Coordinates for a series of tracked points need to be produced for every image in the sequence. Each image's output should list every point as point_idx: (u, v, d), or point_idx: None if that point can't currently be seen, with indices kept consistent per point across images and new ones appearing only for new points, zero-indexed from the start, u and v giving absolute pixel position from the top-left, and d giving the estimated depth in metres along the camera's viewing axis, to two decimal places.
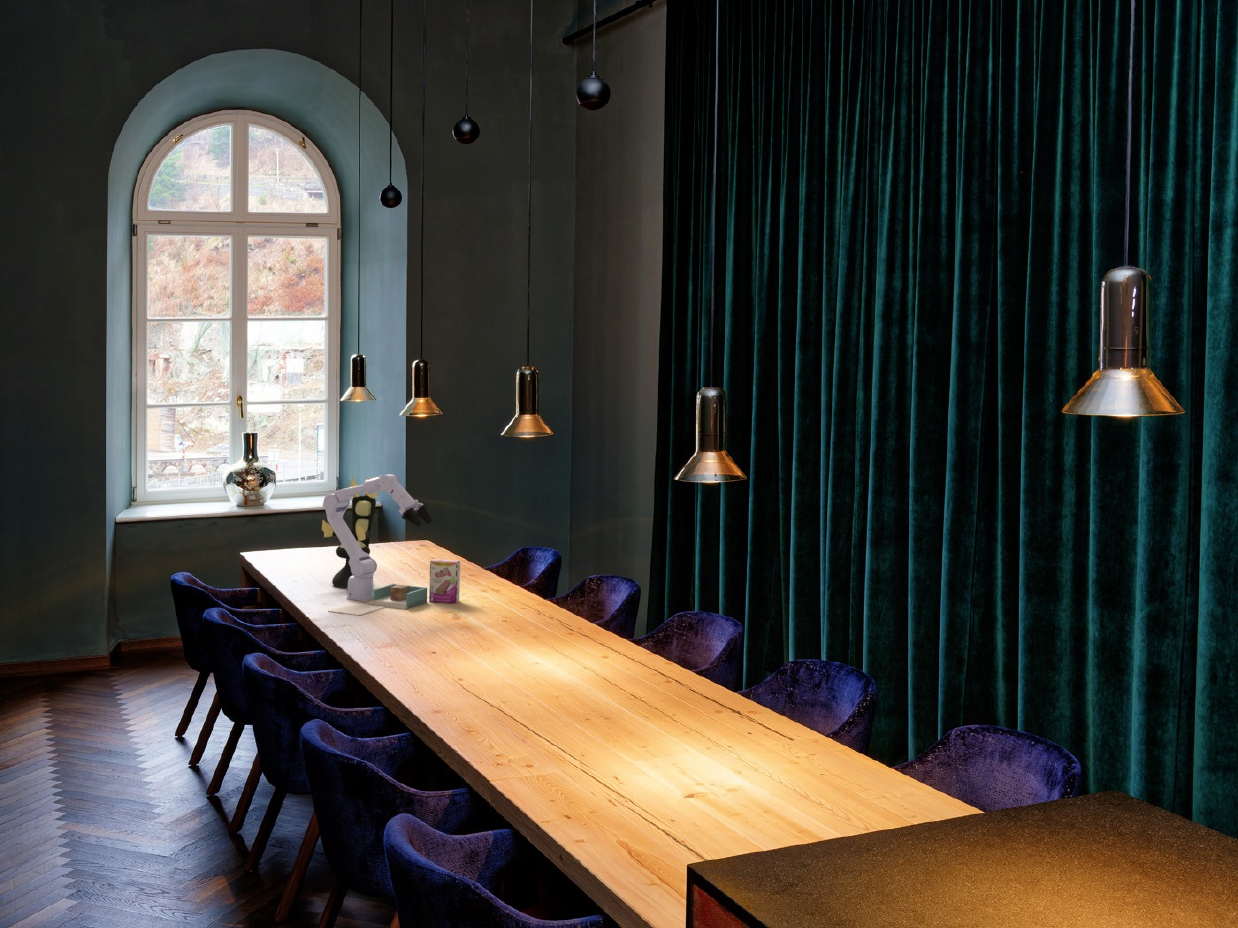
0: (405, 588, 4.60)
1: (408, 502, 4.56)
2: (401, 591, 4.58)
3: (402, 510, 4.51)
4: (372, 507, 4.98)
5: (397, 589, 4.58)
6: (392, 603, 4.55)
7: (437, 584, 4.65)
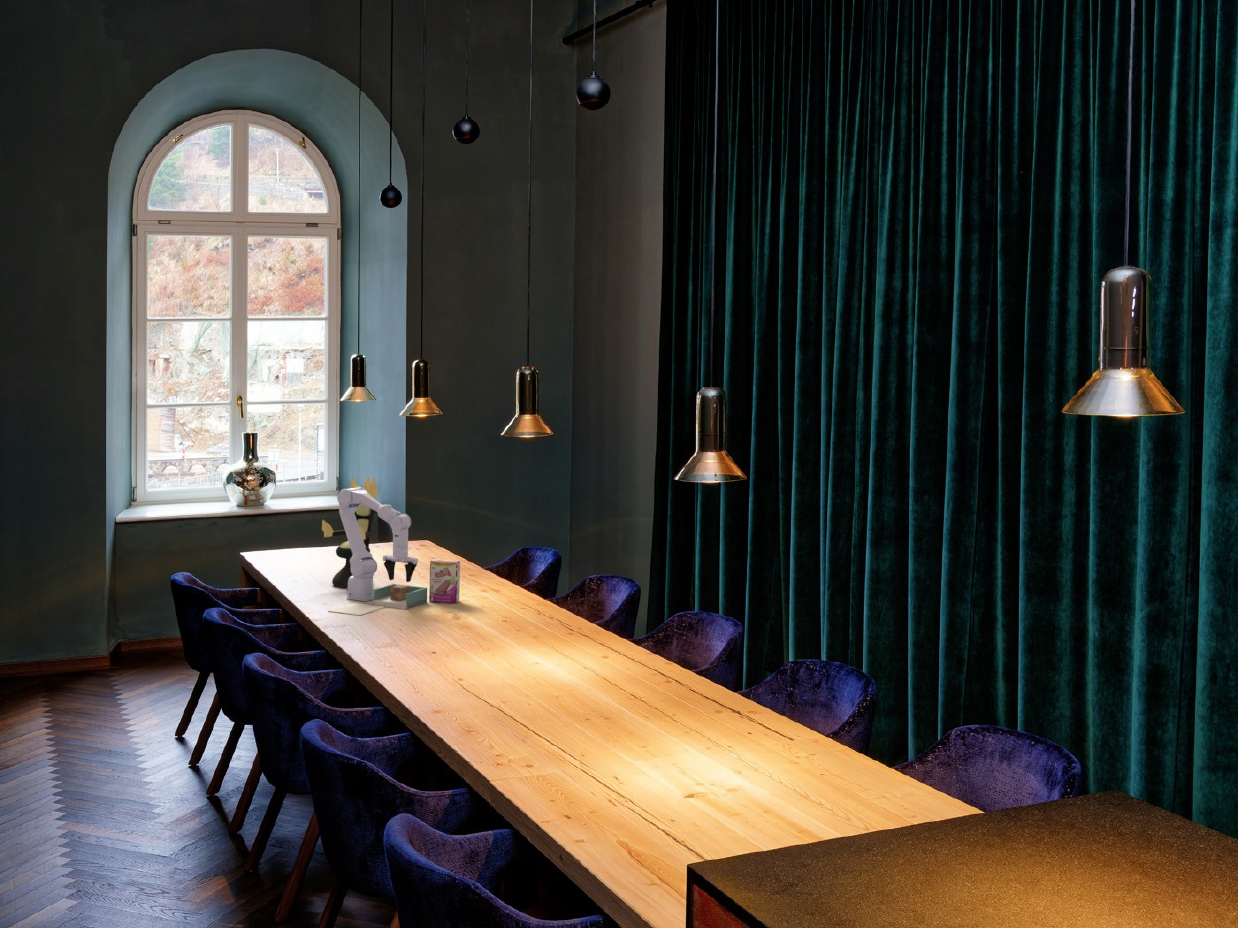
0: (405, 588, 4.60)
1: None
2: (401, 591, 4.58)
3: None
4: None
5: (397, 589, 4.58)
6: (392, 603, 4.55)
7: (437, 584, 4.65)
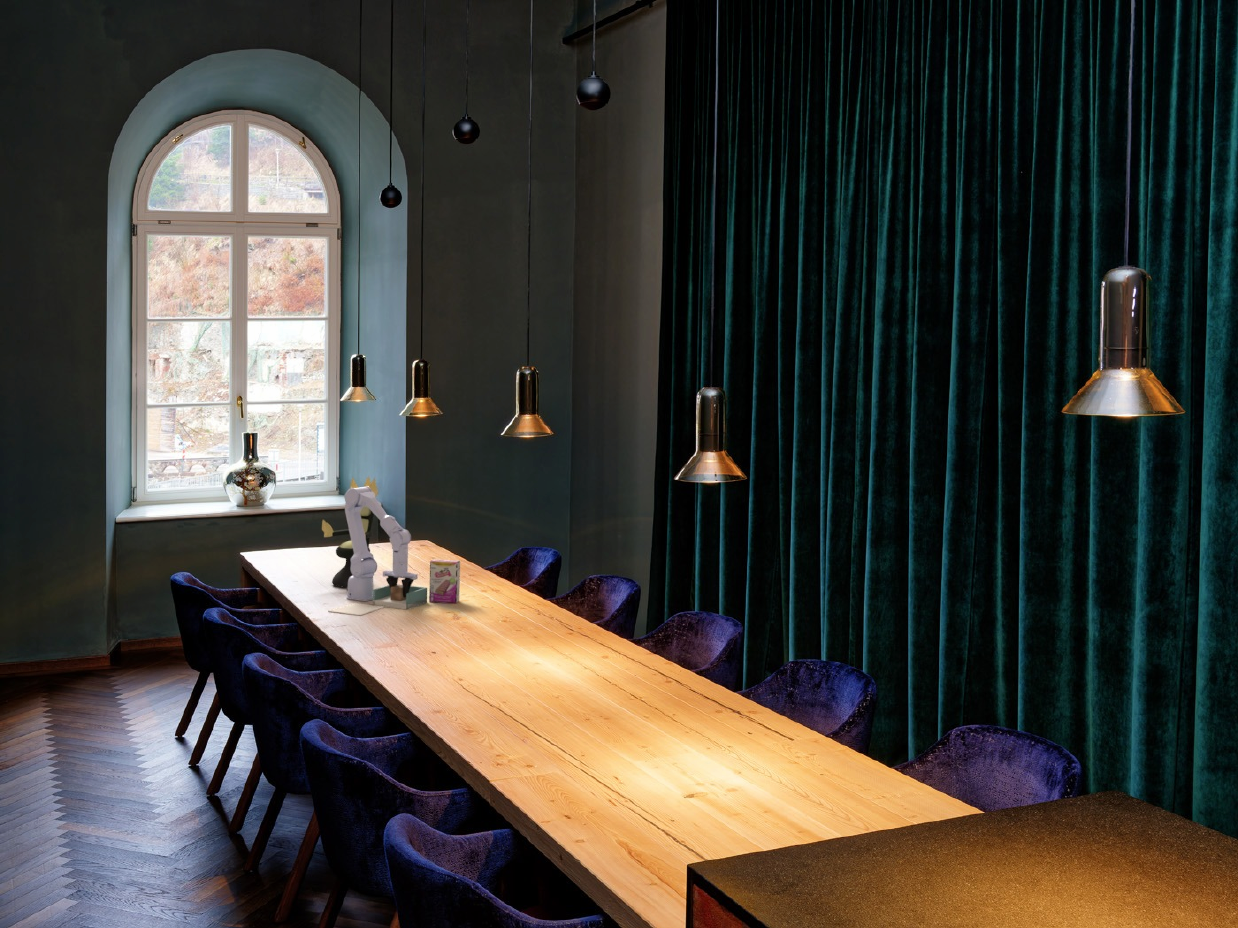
0: None
1: (392, 571, 4.59)
2: (401, 591, 4.58)
3: None
4: None
5: (397, 589, 4.58)
6: (392, 603, 4.55)
7: (437, 584, 4.65)
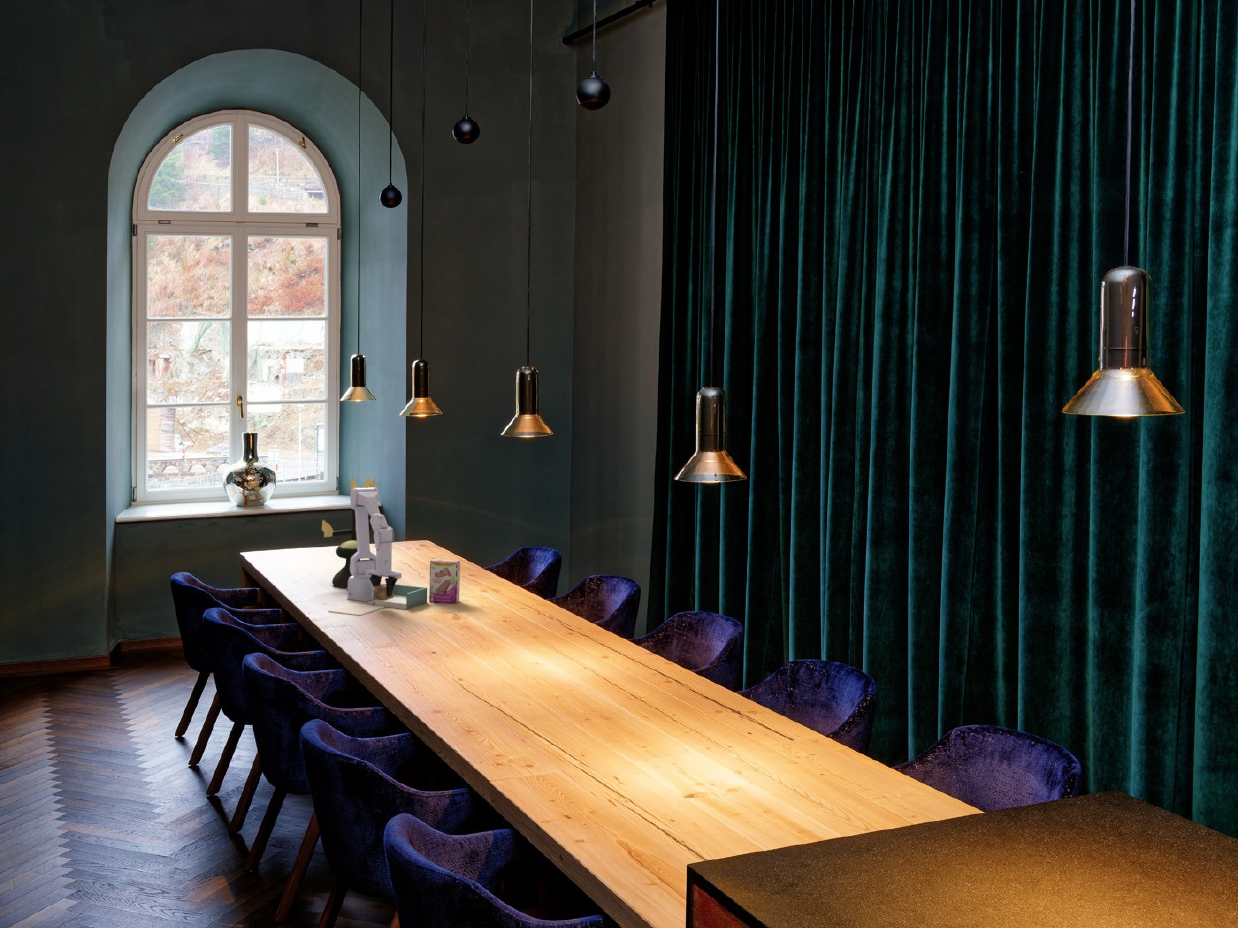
0: None
1: (376, 569, 4.49)
2: (385, 590, 4.47)
3: None
4: None
5: (381, 588, 4.47)
6: (392, 603, 4.55)
7: (437, 584, 4.65)
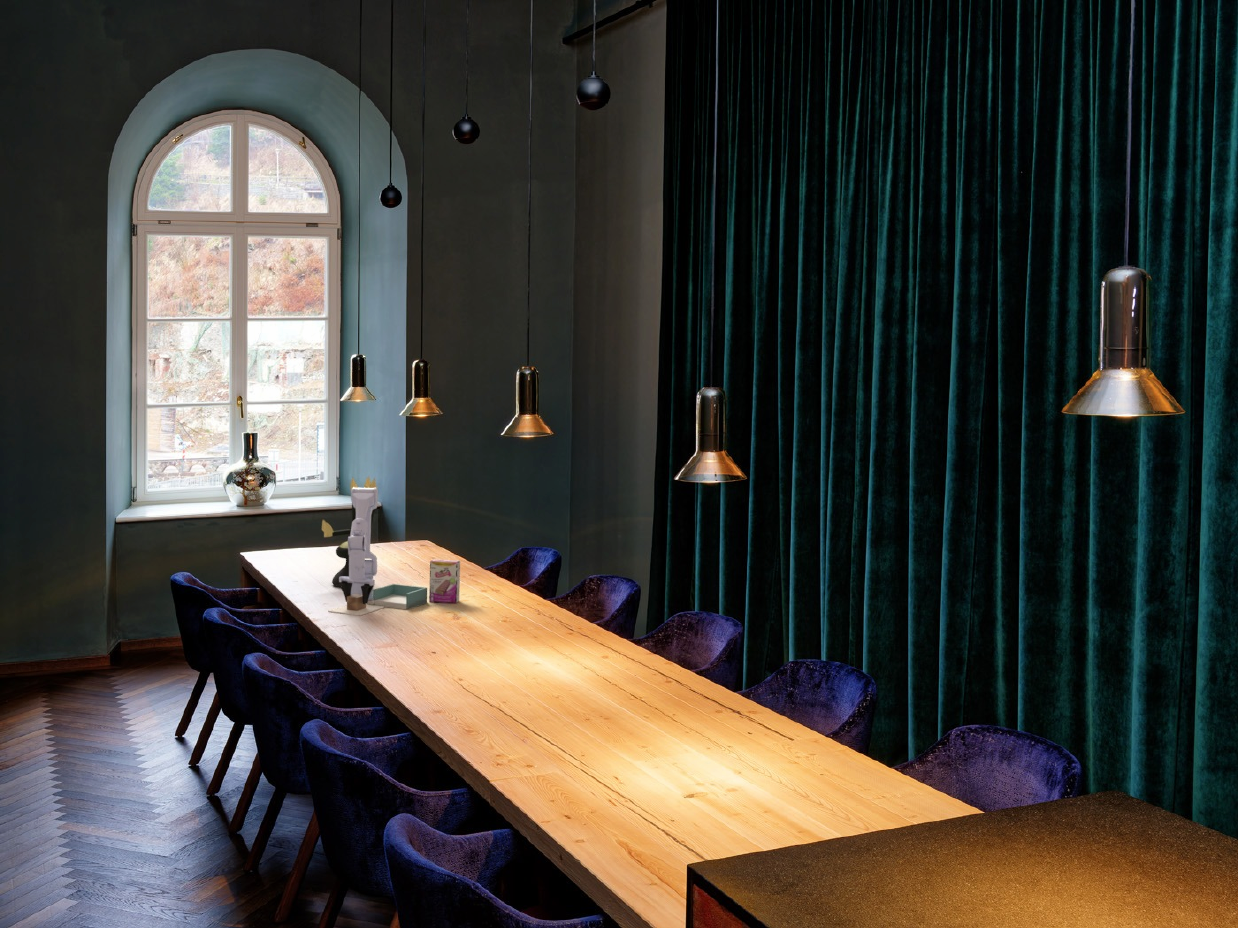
0: None
1: (349, 576, 4.47)
2: (358, 600, 4.46)
3: None
4: None
5: (353, 598, 4.46)
6: (392, 603, 4.55)
7: (437, 584, 4.65)
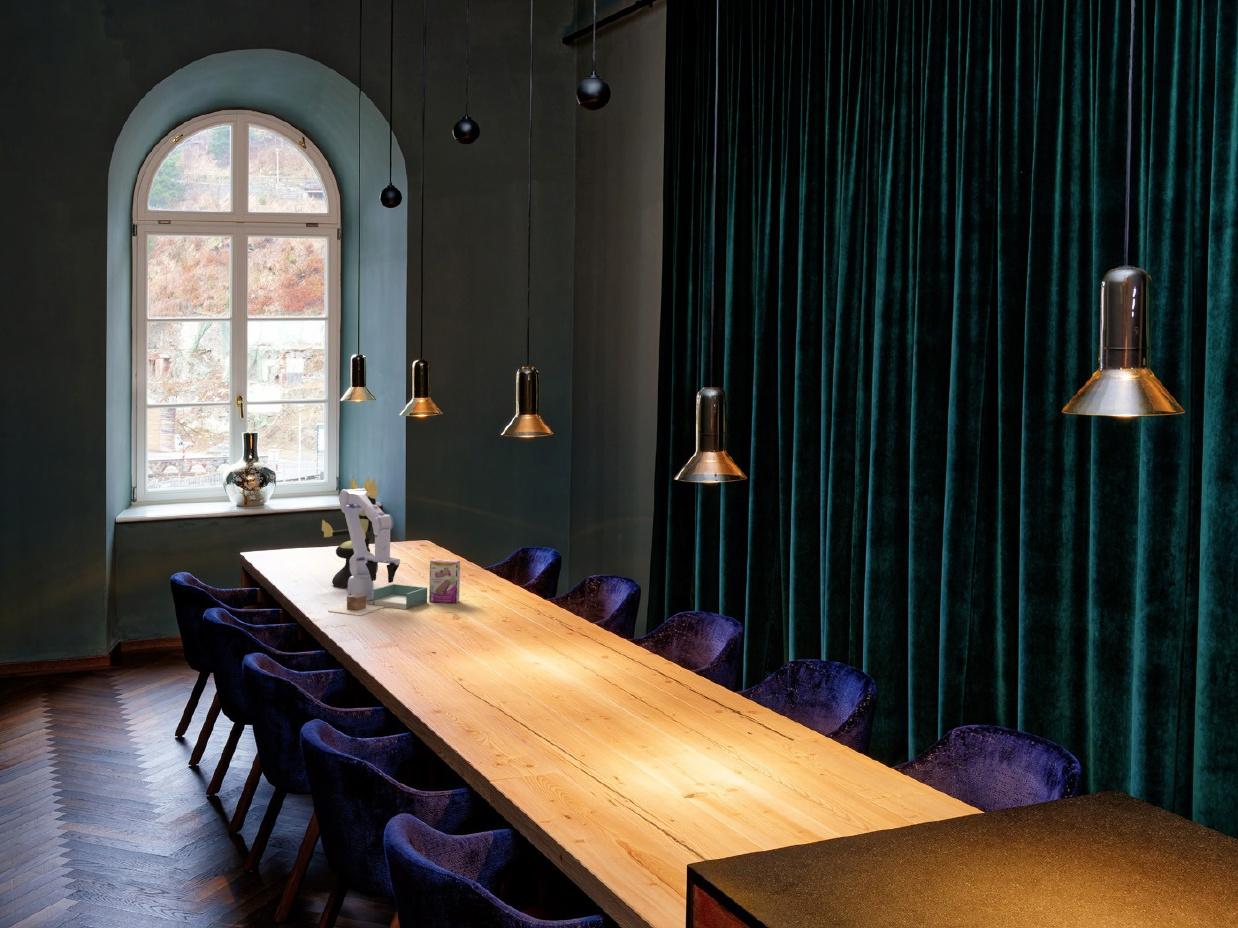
0: (362, 597, 4.48)
1: None
2: (358, 600, 4.46)
3: None
4: None
5: (353, 598, 4.46)
6: (392, 603, 4.55)
7: (437, 584, 4.65)
